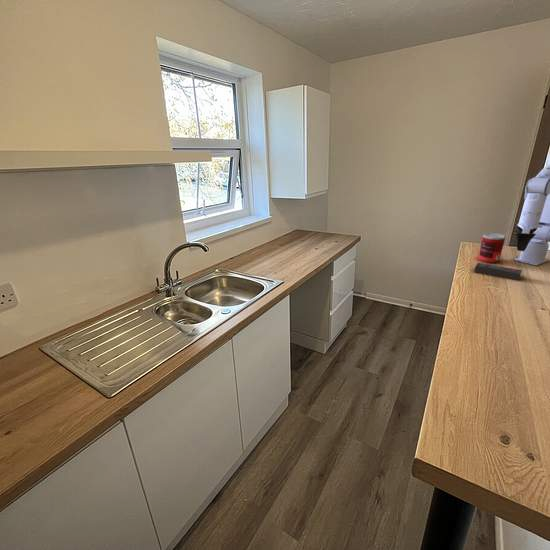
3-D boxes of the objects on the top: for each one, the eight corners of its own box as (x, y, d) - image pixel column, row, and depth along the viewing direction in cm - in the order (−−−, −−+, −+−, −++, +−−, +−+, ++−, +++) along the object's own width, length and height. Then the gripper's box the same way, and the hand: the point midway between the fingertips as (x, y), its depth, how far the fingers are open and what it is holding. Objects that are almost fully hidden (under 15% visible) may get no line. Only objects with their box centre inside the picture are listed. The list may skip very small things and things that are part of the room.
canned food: (497, 258, 131) (503, 233, 126) (500, 264, 124) (507, 238, 120) (476, 256, 134) (481, 232, 129) (479, 262, 127) (484, 237, 123)
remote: (474, 272, 118) (475, 265, 117) (476, 268, 121) (477, 262, 120) (518, 280, 109) (520, 273, 108) (519, 276, 112) (521, 269, 111)
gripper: (545, 217, 101) (533, 255, 106) (546, 209, 111) (536, 244, 116) (519, 214, 105) (509, 251, 111) (522, 208, 115) (513, 242, 121)
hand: (521, 248), depth 114 cm, fingers open, 7 cm apart
